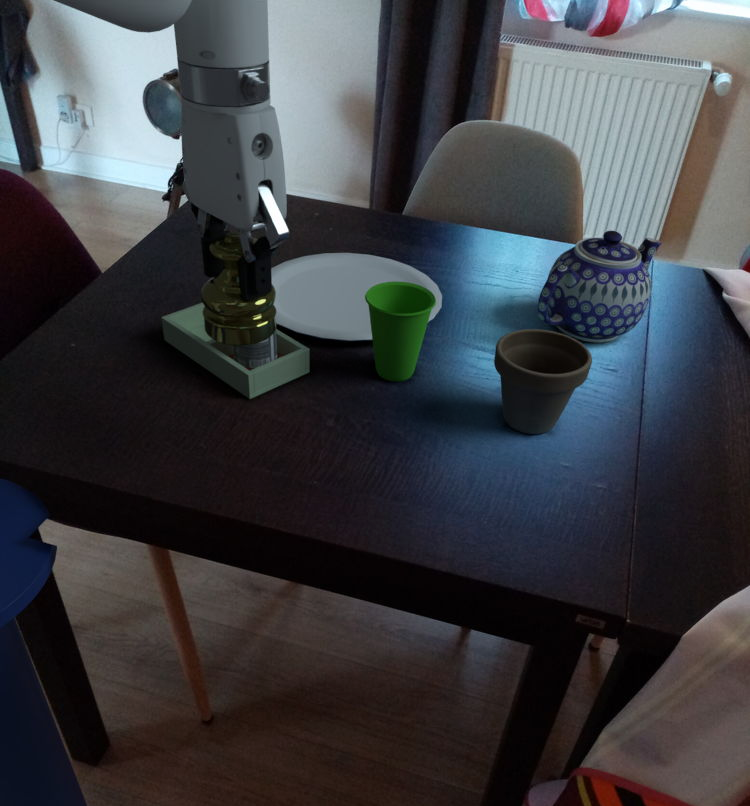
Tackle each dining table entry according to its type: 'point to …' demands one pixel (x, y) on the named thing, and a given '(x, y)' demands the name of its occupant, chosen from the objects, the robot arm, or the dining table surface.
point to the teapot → (598, 288)
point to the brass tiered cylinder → (235, 300)
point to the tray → (219, 358)
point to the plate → (337, 293)
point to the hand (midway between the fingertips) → (237, 282)
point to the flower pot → (539, 376)
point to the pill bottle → (256, 353)
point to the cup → (398, 326)
